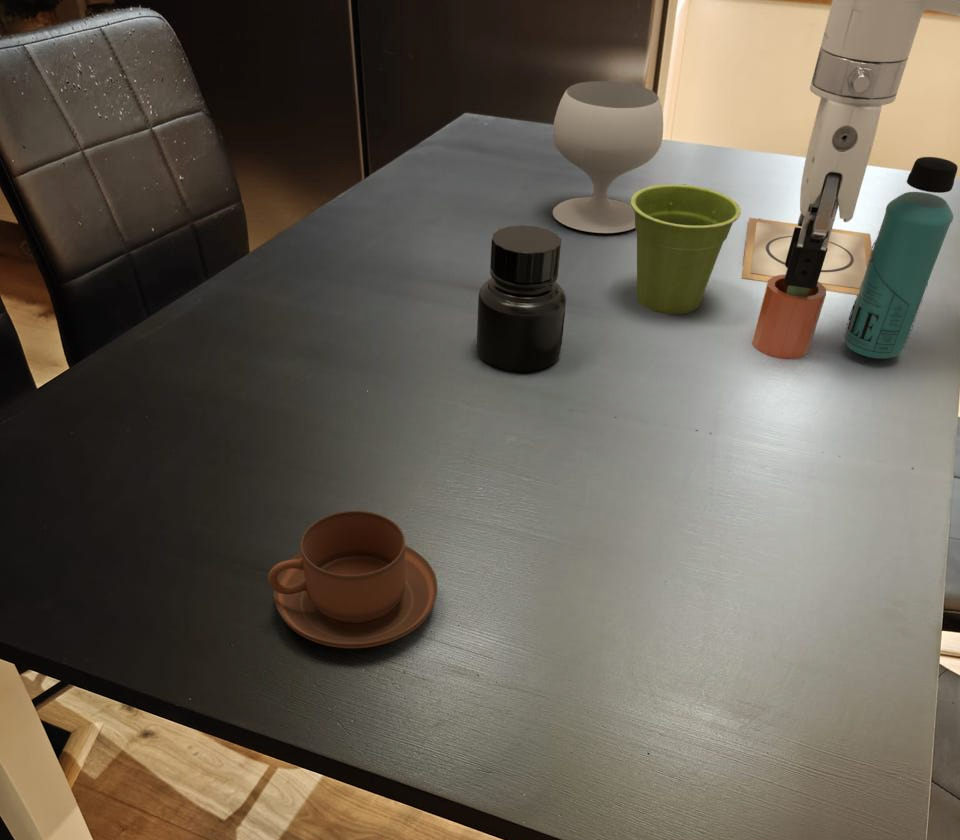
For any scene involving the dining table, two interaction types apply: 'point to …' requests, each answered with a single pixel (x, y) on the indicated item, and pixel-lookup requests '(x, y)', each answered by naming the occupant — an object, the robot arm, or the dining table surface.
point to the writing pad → (772, 246)
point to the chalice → (605, 147)
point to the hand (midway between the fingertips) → (800, 275)
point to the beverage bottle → (902, 262)
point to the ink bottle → (522, 300)
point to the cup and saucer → (354, 582)
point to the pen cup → (787, 320)
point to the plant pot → (678, 243)
